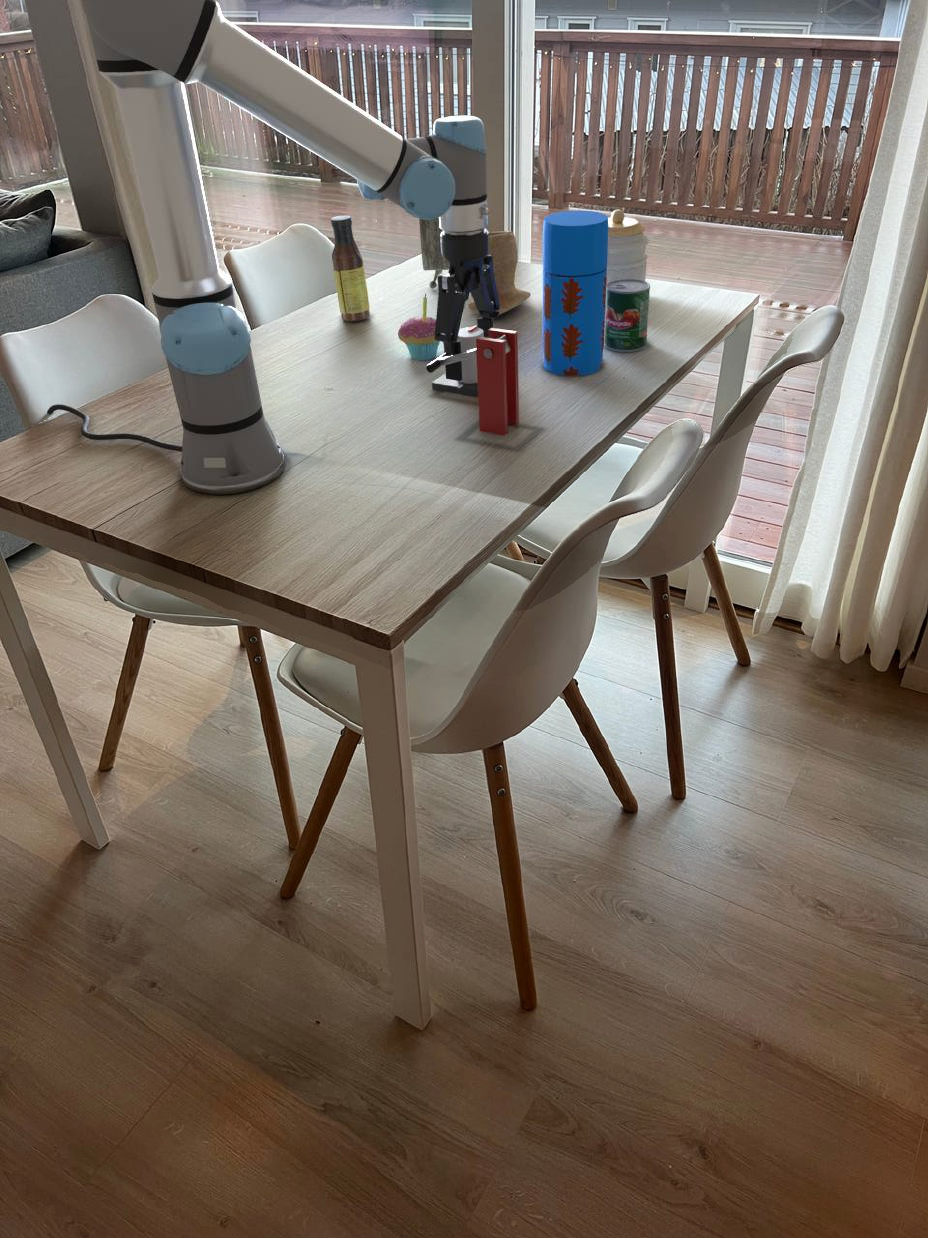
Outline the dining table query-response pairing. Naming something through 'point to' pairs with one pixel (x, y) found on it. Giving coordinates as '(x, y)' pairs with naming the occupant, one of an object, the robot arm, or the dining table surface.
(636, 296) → the canned tomato
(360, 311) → the sauce bottle
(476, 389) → the dial panel
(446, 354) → the lever
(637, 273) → the jar
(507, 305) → the tan piece
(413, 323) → the cupcake
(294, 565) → the dining table surface
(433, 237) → the tabletop clock
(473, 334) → the knob
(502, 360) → the red lever stand
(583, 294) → the thermos
